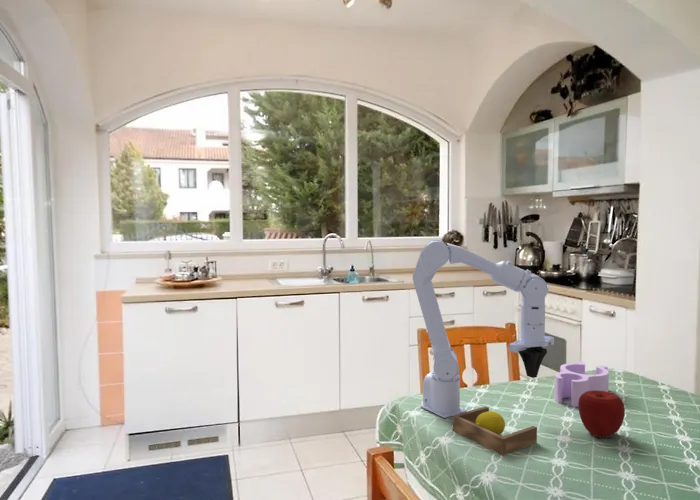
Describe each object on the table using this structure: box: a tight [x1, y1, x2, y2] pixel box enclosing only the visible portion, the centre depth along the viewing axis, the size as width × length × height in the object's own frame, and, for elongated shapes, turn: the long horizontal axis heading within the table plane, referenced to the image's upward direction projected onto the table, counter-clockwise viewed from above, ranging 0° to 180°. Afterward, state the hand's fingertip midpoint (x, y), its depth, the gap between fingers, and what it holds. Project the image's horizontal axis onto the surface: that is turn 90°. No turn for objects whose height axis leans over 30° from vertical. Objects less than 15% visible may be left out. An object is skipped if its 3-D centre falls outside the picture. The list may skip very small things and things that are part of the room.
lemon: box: [475, 410, 506, 436], centre depth 116 cm, size 6×6×8 cm
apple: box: [577, 390, 626, 438], centre depth 117 cm, size 10×10×10 cm
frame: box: [452, 405, 538, 456], centre depth 116 cm, size 15×11×4 cm
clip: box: [553, 361, 610, 408], centre depth 142 cm, size 20×12×7 cm, turn 135°
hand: (531, 376), depth 128 cm, fingers closed
